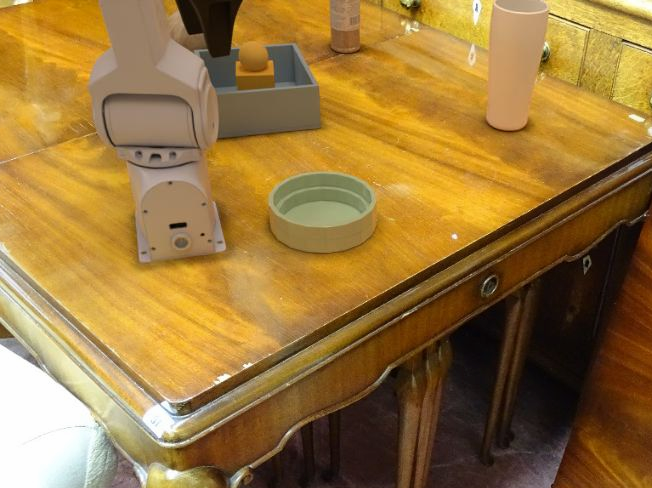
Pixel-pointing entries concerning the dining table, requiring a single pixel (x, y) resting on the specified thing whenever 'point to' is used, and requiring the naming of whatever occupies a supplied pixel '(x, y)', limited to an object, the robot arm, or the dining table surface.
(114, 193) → the dining table surface
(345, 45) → the sprinkles bottle
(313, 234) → the bowl
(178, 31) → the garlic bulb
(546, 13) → the drinking glass
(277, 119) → the bin
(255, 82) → the orange ball-topped block
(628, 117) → the dining table surface
